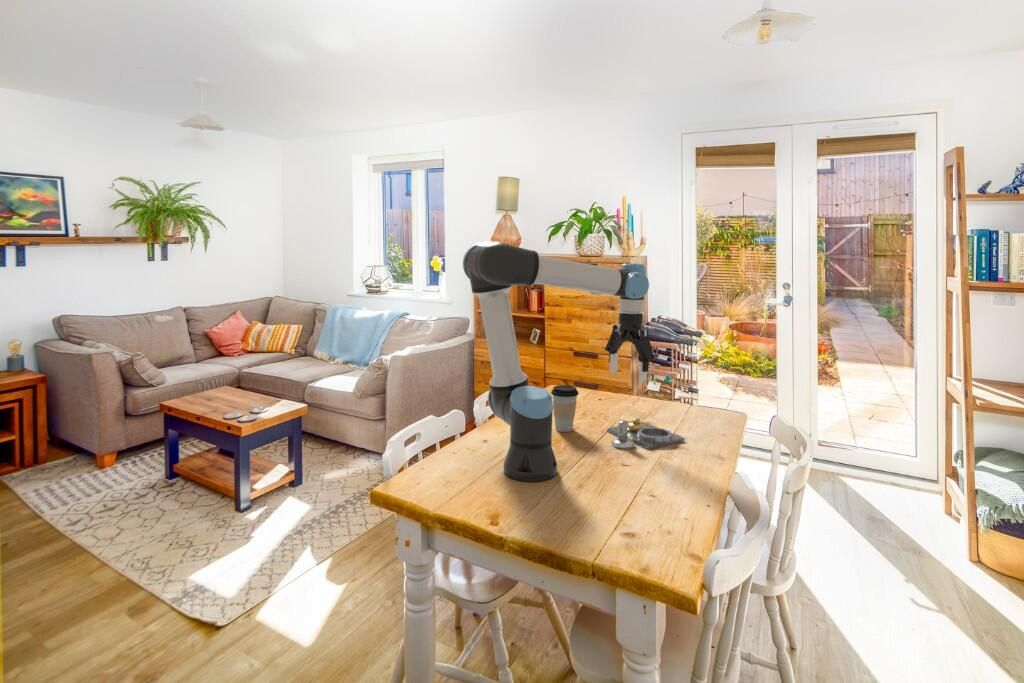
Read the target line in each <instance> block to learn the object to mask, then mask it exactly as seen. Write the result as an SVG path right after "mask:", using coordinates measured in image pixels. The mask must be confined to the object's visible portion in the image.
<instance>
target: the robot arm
mask: <svg viewBox="0 0 1024 683" xmlns="http://www.w3.org/2000/svg"><path fill="white" fill-rule="evenodd" d="M462 259H463V260H462V269H463V271H464V274H465V275H466V277H467V278H468V279H469V282H470V287H471V292H472V294H473V295H474V296H476V298H478V301H479V305H480V307H479V308H480V312H481V317H482V318H481V319H482V323H483V329H484V334H485V338H486V346H487V351H488V356H489V361H490V367H491V372H492V376H491V378H490V379H489V380H488V381H489V382H488V383H489V390H488V395H487V402H488V406H489V408H490V409H491V411H492V413H493V414H494V415H495V416H496V417H497V418H499V419H501V420H502V421H503V422H504V423H506V424H507V425H509V426H510V430H509V432H510V434H509V435H510V436H509V438H510V439H509V447H508V451H507V454H506V456H505V460H504V461H503V473H504V475H506V476H507V478H510V479H513V480H515V481H520V482H526V483H527V482H528V483H532V482H533V483H536V482H544V481H548V480H550V479H553V478H554V477H555V476H557V473H558V463H557V460H556V456H555V453H554V450H553V447H552V446H553V445H552V439H553V438H552V436H553V433H552V432H553V412H554V409H553V395H552V394H551V392H550V391H548V390H546V389H544V388H543V387H538V386H534V385H530V384H529V378H528V374H527V373H526V372H524V371H522V368H521V367H522V366H521V362H520V361H521V359H520V354H519V349H518V343H517V337H516V331H515V326H514V320H513V314H512V307H511V302H510V298H509V295H510V294H509V292H510V291H511V289H512V288H513V286H523V287H528V288H529V287H533V286H535V285H543V286H548V287H549V286H550V287H556V288H562V289H568V290H569V289H570V290H576V291H583V292H588V293H590V294H592V295H598V296H599V295H609V296H616V297H619V305H618V306H619V308H618V310H619V313H618V324H613V325H612V331H611V333H610V336H609V338H608V340H607V343H606V346H605V351H607V352H608V354H609V357H608V358H609V359H608V362H609V374H611V375H612V374H618V364H619V362H618V361H619V360H618V359H619V354H618V351H619V350H620V348H621V347H622V346H623V344H624V343H625V342H627V341H628V342H629V343H632V344H633V345H634V348H635V349H636V351H637V354H638V355H639V358H640V359H641V360H640V361H639V367H638V383H644V382H647V378H648V372H649V370H650V369H649V367H650V362H652V361H655V359H656V358H655V356H654V352H653V346H652V344H651V341H650V336H649V330H648V329H641V327H642V325H643V321H644V314H643V313H642V312H644V302H645V300H644V299H645V296H646V294H647V293H648V291H649V288H650V282H649V278H648V276H647V275H646V272H647V271H646V265H645V264H643V263H623V264H622V265H621V269H617V268H612V267H607V266H601V265H595V264H590V263H583V262H579V261H573V260H566V259H563V258H562V259H560V258H555V257H550V256H543V255H540V253H539V252H538V251H536V250H532V249H527V248H523V247H520V246H516V245H513V244H510V243H506V242H503V241H481V242H478V243H476V244H473V245H471V246H470V247H468V249H467V251H466V252H465V253H464V255H463V258H462Z"/></svg>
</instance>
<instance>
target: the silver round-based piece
mask: <svg viewBox="0 0 1024 683" xmlns="http://www.w3.org/2000/svg"><path fill="white" fill-rule="evenodd" d="M628 422H629V421H628V420H624V419H620V420H618V426H619V427H618V436H617V437H614V438H612V439H611V443H610V444H611V447H613V448H616V449H619V450H630V449H633V448H634V446H635V444H634V441H633V440H631V439H629V438H628Z"/></svg>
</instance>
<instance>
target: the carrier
mask: <svg viewBox="0 0 1024 683" xmlns="http://www.w3.org/2000/svg"><path fill="white" fill-rule="evenodd" d="M618 427H619V425H618V426H617V425H616V426H613V427H607V432H608V433H610V434H611V435H614V436H617V437H618ZM628 438H629V439H631V440H633V441H634V445H637V446H639V447H641V448H643V449H645V450H653V449H658V448H661V447H666V446H671V445H674V444H678V443H683V441H684V442H685V437H683V436H681V435H678V434H676V433H673V432H672V431H670V430H669V429H665V428H661V427H657V426H654V425H652V424H649V423H647V422H645V421H641V418H637V417H634V418H632V420H631V421H628Z"/></svg>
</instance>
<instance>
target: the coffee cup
mask: <svg viewBox="0 0 1024 683" xmlns="http://www.w3.org/2000/svg"><path fill="white" fill-rule="evenodd" d="M552 388H553V389H552V390H551V392H550V394H551V396H552V403H553V416H554V426H555V430H556V431H557V432H561V433H570V432H572V431H573V429H574V428H573V427H574V423H575V422H574V420H575V416H576V408H577V398H578V395H579V390H578V389H577V387H576V386H574V385H568V384H559V385H555V386H553V387H552Z"/></svg>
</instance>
